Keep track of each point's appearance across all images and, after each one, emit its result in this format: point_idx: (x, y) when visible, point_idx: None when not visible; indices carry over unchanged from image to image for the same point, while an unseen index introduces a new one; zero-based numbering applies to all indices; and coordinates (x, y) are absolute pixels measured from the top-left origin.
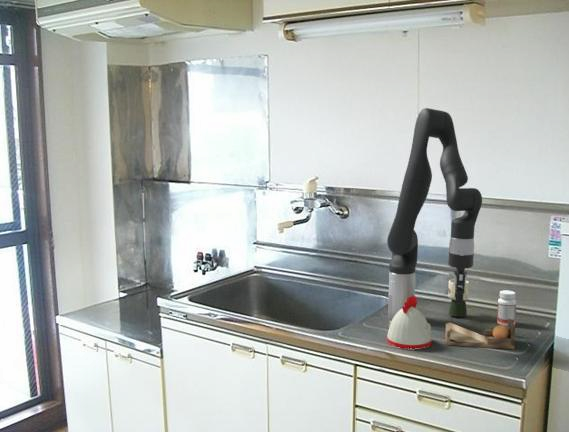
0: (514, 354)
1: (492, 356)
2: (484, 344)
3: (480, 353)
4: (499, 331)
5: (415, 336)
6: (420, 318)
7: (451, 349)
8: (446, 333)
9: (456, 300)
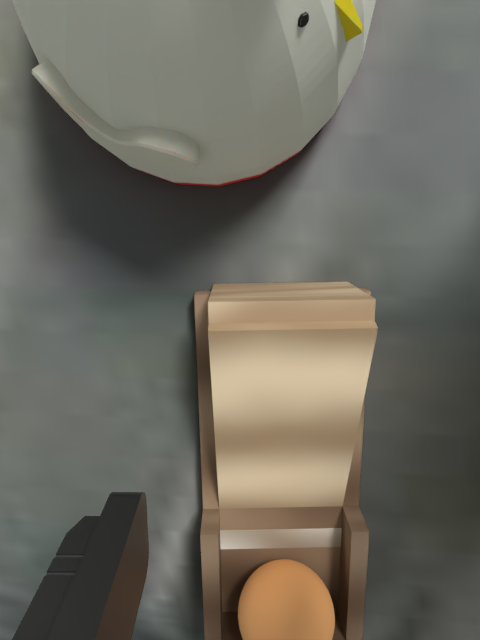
0: None
1: (73, 510)
2: (203, 493)
3: (102, 458)
4: (246, 622)
5: (28, 39)
6: (81, 30)
7: (126, 310)
8: (245, 294)
9: (96, 543)
